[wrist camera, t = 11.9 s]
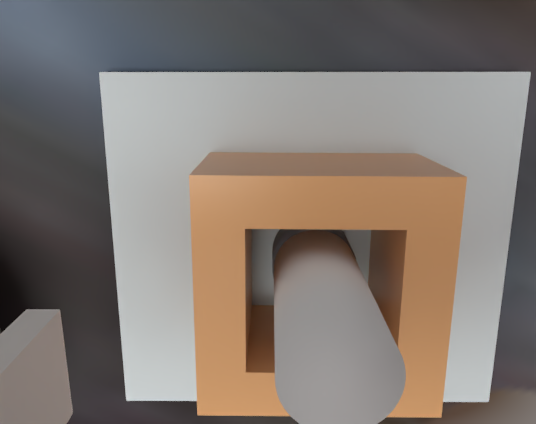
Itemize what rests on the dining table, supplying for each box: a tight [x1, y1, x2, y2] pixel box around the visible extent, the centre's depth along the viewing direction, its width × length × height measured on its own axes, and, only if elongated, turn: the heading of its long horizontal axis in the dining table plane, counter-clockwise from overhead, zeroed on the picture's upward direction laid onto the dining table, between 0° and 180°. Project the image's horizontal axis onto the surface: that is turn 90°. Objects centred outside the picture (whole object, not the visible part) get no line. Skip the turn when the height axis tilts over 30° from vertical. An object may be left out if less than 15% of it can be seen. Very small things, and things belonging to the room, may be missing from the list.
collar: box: [189, 152, 467, 418], centre depth 18 cm, size 8×8×5 cm
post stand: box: [99, 72, 531, 424], centre depth 16 cm, size 14×16×10 cm
